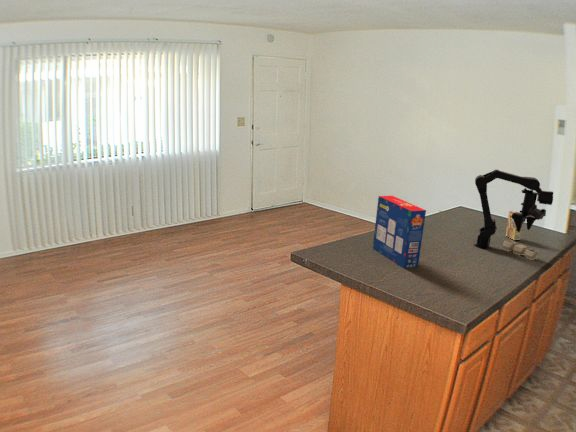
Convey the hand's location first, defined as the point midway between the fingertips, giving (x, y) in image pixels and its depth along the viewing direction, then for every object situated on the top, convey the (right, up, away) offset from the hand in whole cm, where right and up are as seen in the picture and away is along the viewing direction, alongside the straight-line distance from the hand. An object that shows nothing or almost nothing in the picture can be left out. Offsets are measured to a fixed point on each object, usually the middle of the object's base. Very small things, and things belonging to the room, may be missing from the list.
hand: (523, 230), depth 269 cm
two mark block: (-5, -11, +7) cm, 13 cm away
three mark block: (+1, -14, -5) cm, 15 cm away
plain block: (-2, -12, +1) cm, 13 cm away
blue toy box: (-72, -13, -16) cm, 75 cm away
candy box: (+6, -5, +27) cm, 28 cm away
